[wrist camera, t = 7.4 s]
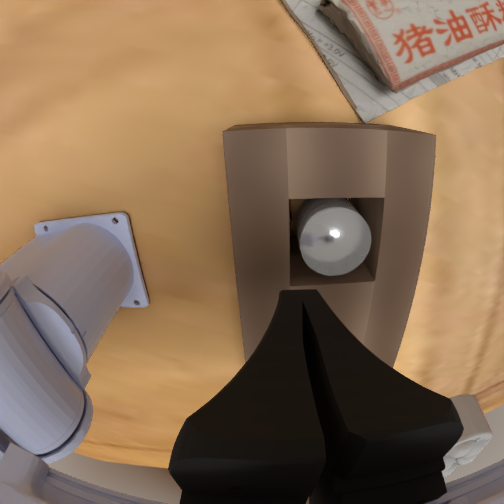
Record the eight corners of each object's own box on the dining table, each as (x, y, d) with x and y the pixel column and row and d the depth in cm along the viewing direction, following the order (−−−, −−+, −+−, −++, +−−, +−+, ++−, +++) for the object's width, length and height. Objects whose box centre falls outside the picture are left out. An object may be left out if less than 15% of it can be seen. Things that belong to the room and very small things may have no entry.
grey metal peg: (290, 232, 21) (299, 277, 15) (289, 180, 19) (300, 209, 14) (342, 230, 20) (367, 273, 15) (344, 179, 19) (374, 207, 14)
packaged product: (486, -68, 5) (552, 48, 9) (456, -51, 9) (515, 49, 13) (277, -29, 10) (385, 129, 13) (274, 0, 14) (358, 124, 18)
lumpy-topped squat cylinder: (404, 412, 31) (421, 468, 23) (485, 382, 29) (509, 429, 22) (393, 446, 35) (405, 492, 28) (465, 421, 34) (482, 461, 26)
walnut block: (255, 378, 27) (253, 430, 22) (234, 125, 18) (222, 131, 12) (358, 370, 27) (372, 420, 21) (390, 125, 17) (435, 135, 12)
